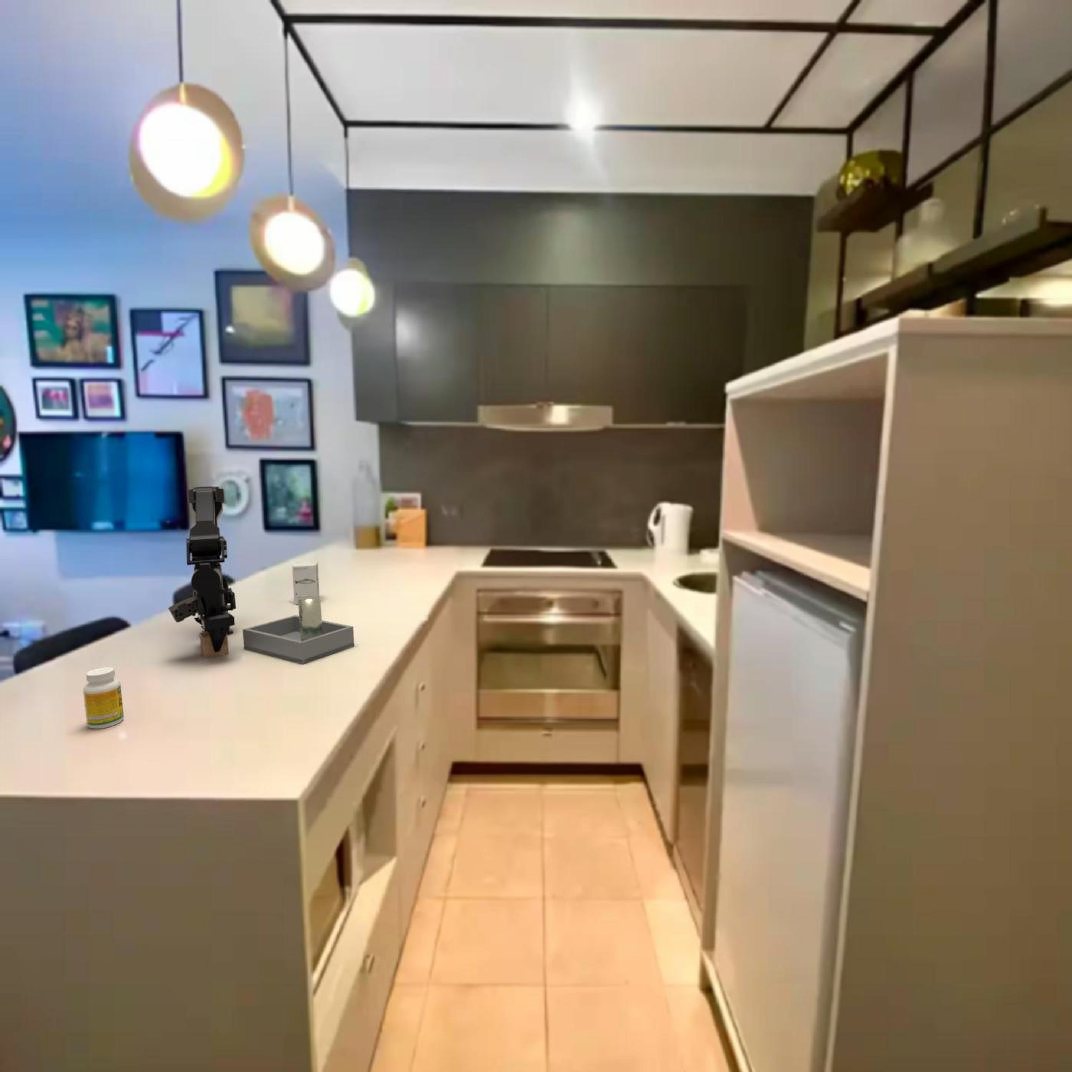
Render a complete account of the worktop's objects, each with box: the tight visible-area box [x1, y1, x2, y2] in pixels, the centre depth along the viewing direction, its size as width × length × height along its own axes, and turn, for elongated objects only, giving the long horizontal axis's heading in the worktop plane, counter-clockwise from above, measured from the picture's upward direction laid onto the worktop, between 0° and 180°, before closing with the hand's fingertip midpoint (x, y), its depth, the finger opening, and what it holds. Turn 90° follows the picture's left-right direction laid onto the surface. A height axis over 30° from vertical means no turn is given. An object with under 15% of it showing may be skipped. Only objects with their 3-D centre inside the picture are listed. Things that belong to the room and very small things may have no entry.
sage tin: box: [297, 595, 323, 641], centre depth 144 cm, size 5×5×12 cm
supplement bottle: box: [82, 666, 125, 730], centre depth 106 cm, size 5×5×10 cm
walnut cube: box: [199, 631, 230, 659], centre depth 144 cm, size 5×5×5 cm
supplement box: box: [291, 561, 320, 606], centre depth 194 cm, size 7×7×13 cm
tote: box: [242, 614, 355, 665], centre depth 147 cm, size 22×15×5 cm
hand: (214, 649), depth 144 cm, fingers closed on walnut cube, 5 cm apart
